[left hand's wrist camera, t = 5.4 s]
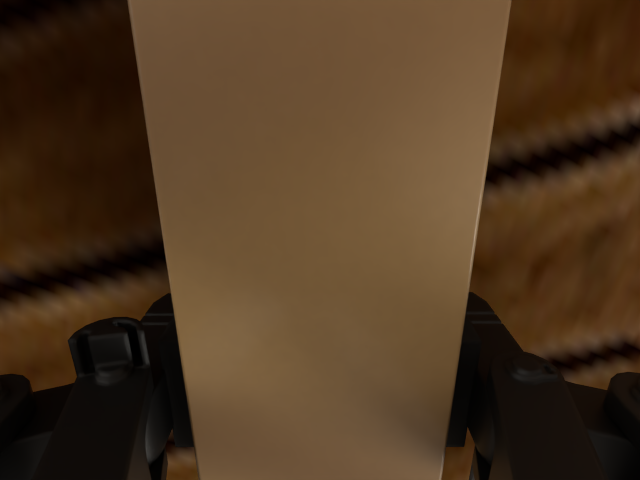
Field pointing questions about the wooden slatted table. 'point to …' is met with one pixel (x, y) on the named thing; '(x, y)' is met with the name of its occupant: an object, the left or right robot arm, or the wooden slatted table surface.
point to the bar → (319, 221)
